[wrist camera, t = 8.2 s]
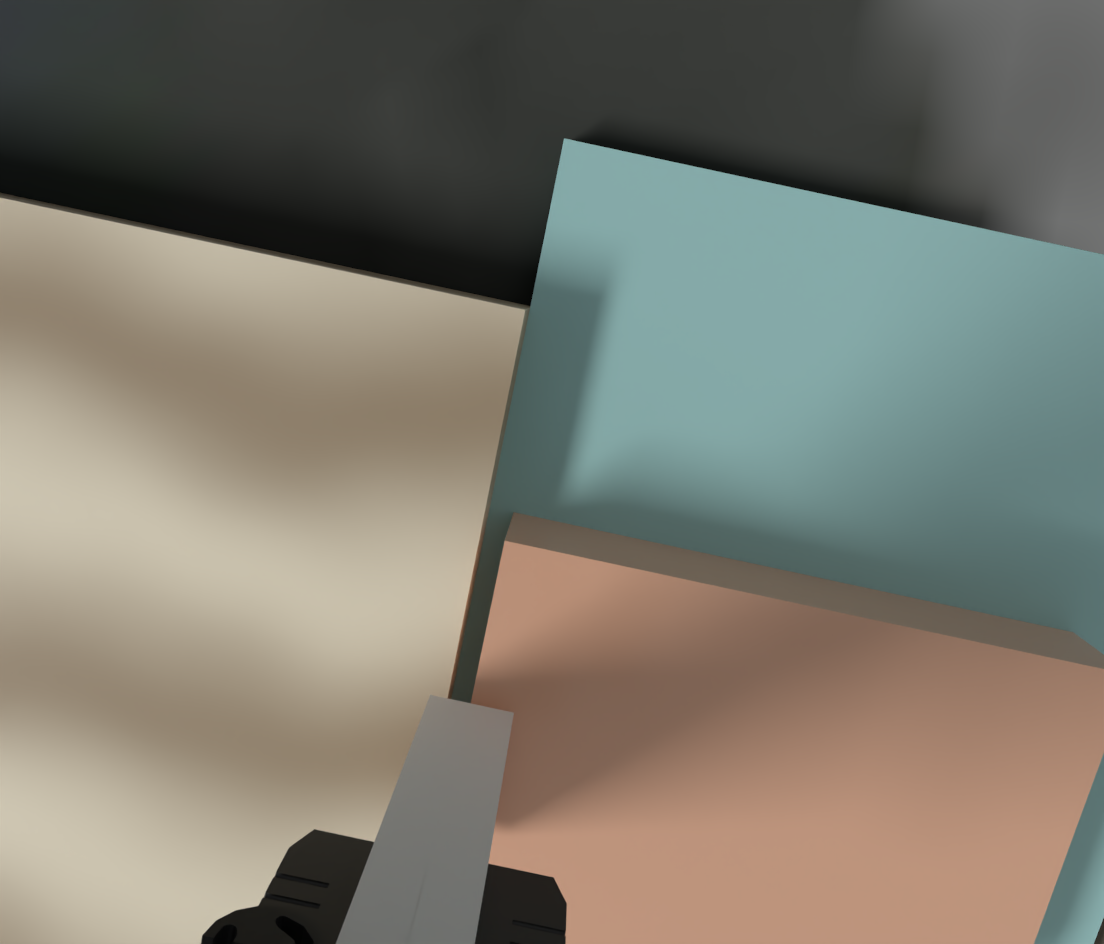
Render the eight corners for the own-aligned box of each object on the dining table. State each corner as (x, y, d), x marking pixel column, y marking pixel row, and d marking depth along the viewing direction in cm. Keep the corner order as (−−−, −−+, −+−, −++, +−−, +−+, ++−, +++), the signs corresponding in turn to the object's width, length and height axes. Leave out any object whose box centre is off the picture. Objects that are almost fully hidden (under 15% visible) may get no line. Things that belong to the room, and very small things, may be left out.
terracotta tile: (513, 512, 18) (504, 540, 16) (1073, 632, 18) (1132, 675, 16) (437, 875, 20) (420, 940, 18) (950, 983, 20) (991, 1061, 18)
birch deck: (-196, 151, 18) (-294, 135, 16) (531, 306, 18) (525, 310, 16) (-226, 887, 21) (-309, 949, 19) (388, 1015, 21) (368, 1091, 19)
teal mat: (564, 143, 17) (563, 138, 17) (1310, 303, 17) (1335, 304, 17) (366, 1124, 22) (360, 1147, 21) (958, 1246, 22) (969, 1273, 21)
